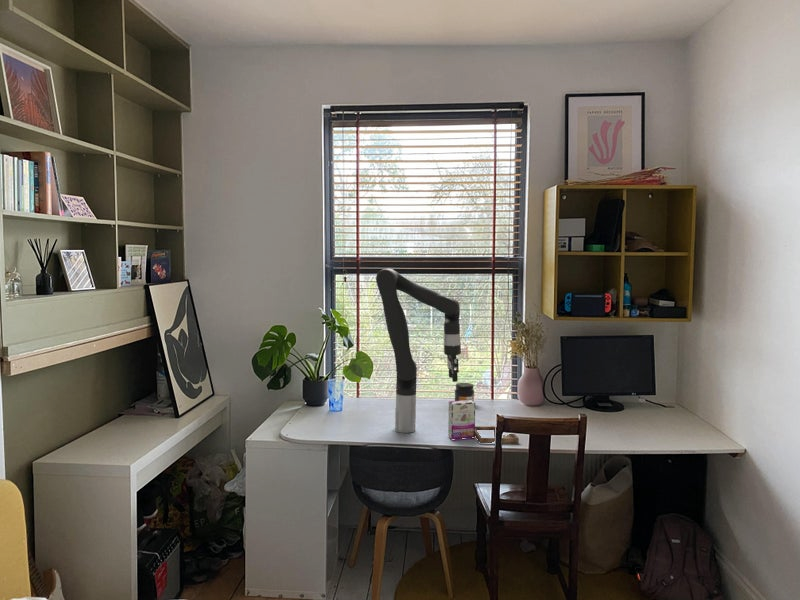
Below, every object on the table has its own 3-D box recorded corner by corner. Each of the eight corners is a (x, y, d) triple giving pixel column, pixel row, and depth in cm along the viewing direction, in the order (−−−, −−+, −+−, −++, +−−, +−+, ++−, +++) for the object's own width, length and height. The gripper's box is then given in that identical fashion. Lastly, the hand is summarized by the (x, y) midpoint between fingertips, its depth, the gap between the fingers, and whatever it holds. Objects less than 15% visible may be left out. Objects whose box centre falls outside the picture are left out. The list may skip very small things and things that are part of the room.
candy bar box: (470, 435, 247) (471, 399, 246) (475, 438, 242) (476, 402, 241) (447, 436, 244) (448, 400, 243) (451, 440, 239) (452, 403, 238)
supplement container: (472, 409, 290) (473, 387, 289) (453, 408, 292) (453, 386, 291) (474, 404, 300) (475, 383, 299) (455, 403, 302) (456, 381, 301)
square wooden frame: (479, 444, 235) (479, 438, 235) (471, 431, 252) (471, 426, 252) (518, 444, 237) (518, 438, 236) (508, 431, 253) (508, 426, 253)
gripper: (441, 341, 251) (442, 376, 252) (446, 346, 237) (447, 383, 238) (457, 341, 252) (458, 376, 253) (463, 345, 238) (464, 382, 239)
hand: (453, 379), depth 246 cm, fingers open, 8 cm apart
